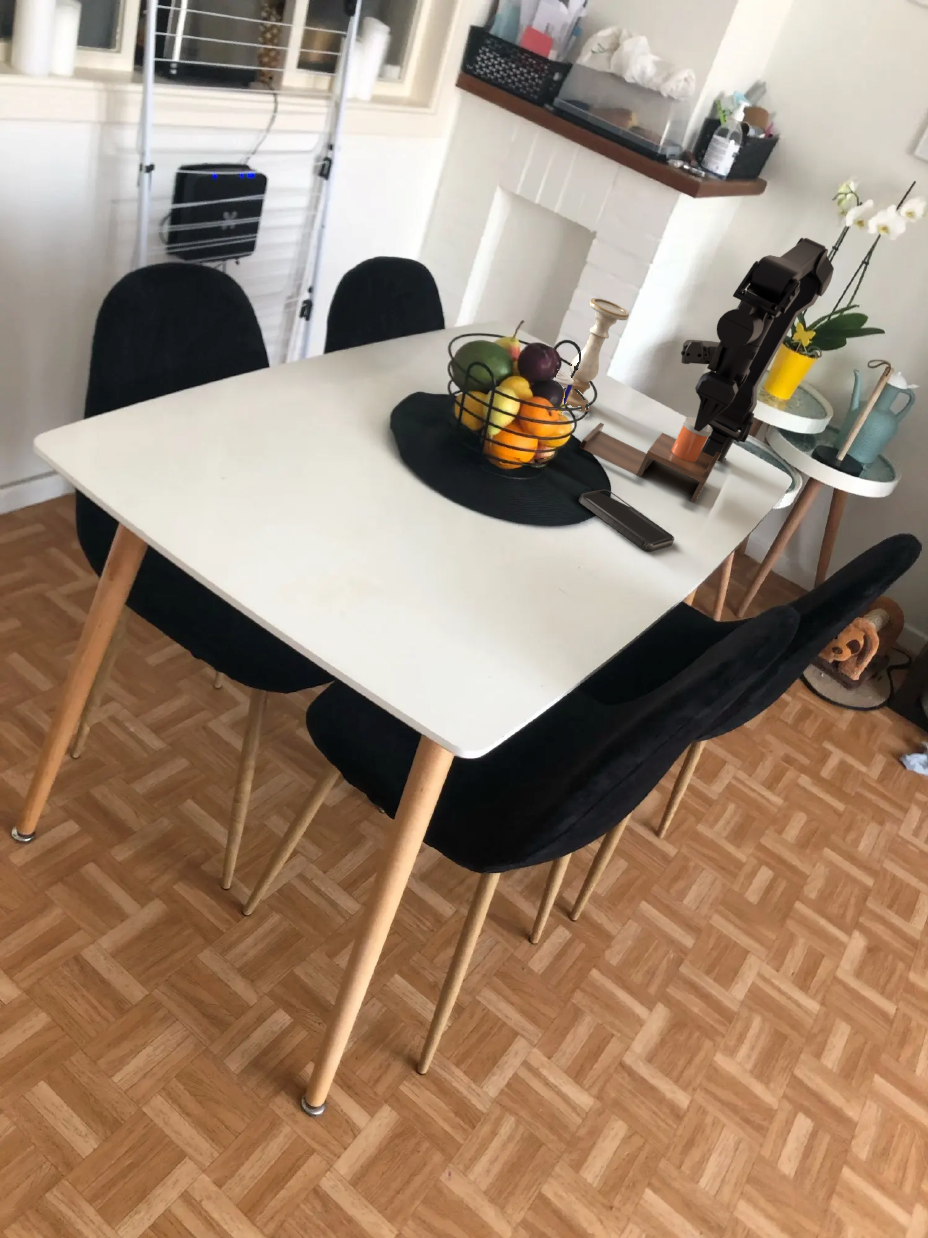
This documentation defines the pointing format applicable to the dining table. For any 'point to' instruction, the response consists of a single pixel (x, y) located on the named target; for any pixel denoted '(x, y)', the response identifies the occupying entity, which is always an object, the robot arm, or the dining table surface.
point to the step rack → (648, 456)
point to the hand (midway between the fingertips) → (701, 423)
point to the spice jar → (690, 440)
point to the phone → (627, 520)
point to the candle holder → (593, 349)
